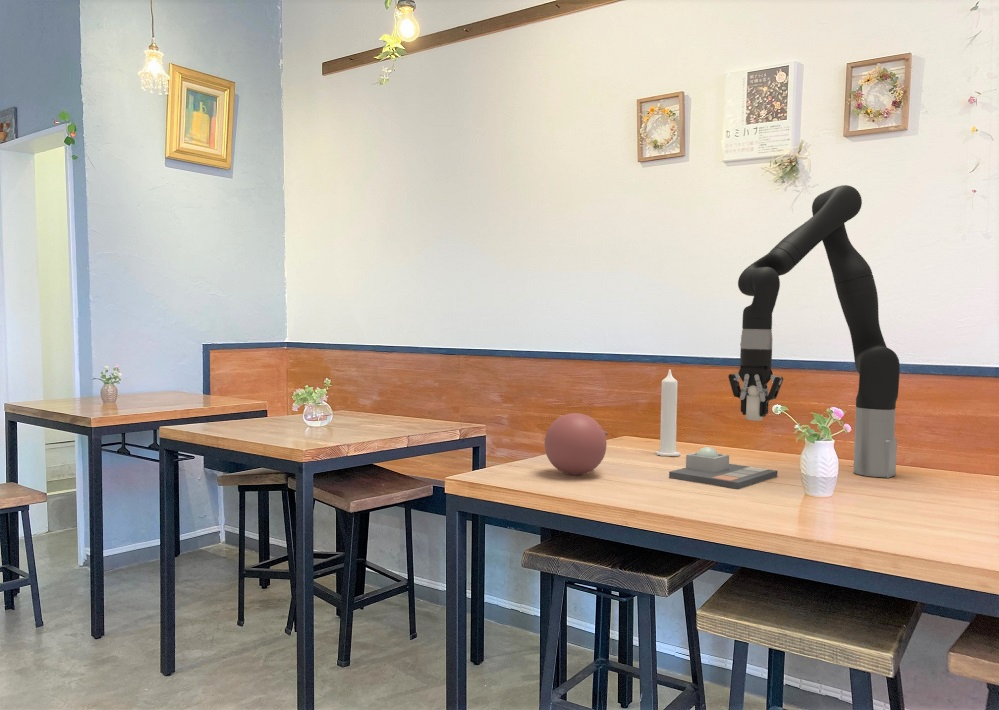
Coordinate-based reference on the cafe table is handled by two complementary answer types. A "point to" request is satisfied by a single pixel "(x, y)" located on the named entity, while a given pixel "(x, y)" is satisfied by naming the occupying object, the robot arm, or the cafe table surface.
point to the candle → (668, 417)
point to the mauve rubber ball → (575, 444)
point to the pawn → (753, 404)
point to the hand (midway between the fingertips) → (754, 415)
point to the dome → (707, 452)
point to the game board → (720, 472)
